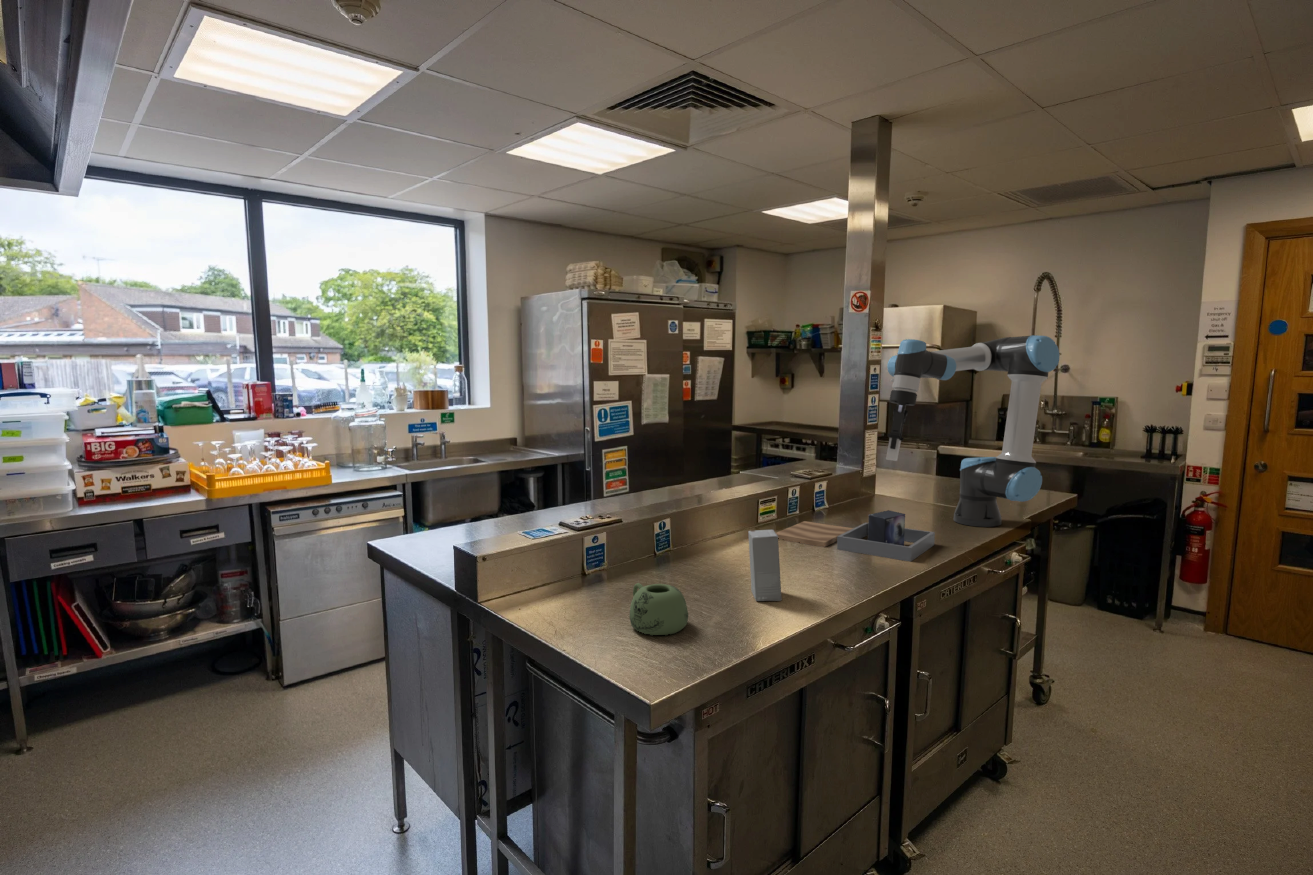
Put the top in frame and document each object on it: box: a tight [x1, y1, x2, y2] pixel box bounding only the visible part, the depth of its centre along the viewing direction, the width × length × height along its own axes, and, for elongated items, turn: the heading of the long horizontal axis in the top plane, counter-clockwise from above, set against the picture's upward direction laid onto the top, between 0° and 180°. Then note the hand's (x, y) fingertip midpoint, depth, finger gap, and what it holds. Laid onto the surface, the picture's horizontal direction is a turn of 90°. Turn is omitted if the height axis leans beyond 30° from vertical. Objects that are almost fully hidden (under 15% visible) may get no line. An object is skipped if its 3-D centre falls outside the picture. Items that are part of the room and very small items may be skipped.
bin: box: [836, 522, 936, 562], centre depth 200 cm, size 22×22×4 cm
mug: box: [629, 582, 689, 636], centre depth 142 cm, size 16×13×9 cm
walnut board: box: [775, 520, 854, 548], centre depth 215 cm, size 22×18×2 cm
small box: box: [867, 509, 906, 546], centre depth 199 cm, size 11×6×10 cm, turn 126°
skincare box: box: [747, 529, 782, 602], centre depth 158 cm, size 8×7×16 cm
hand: (891, 460), depth 197 cm, fingers open, 13 cm apart
